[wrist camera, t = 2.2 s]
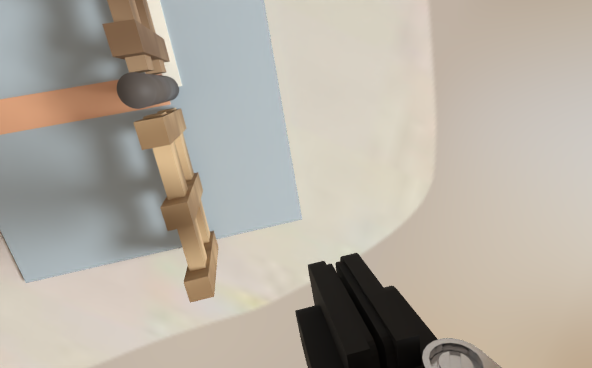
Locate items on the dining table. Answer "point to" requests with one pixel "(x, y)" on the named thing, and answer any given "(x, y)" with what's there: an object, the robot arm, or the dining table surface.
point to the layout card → (133, 131)
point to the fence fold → (182, 198)
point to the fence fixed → (139, 55)
